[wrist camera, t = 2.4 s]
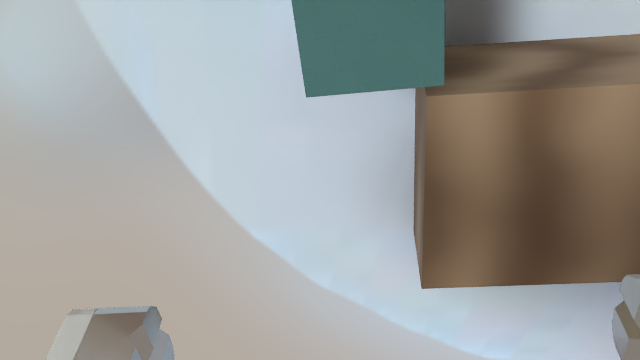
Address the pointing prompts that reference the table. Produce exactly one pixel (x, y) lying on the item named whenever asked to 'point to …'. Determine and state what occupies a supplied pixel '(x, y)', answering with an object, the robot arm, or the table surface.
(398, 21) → the spice tin
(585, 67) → the walnut block
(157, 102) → the table surface
